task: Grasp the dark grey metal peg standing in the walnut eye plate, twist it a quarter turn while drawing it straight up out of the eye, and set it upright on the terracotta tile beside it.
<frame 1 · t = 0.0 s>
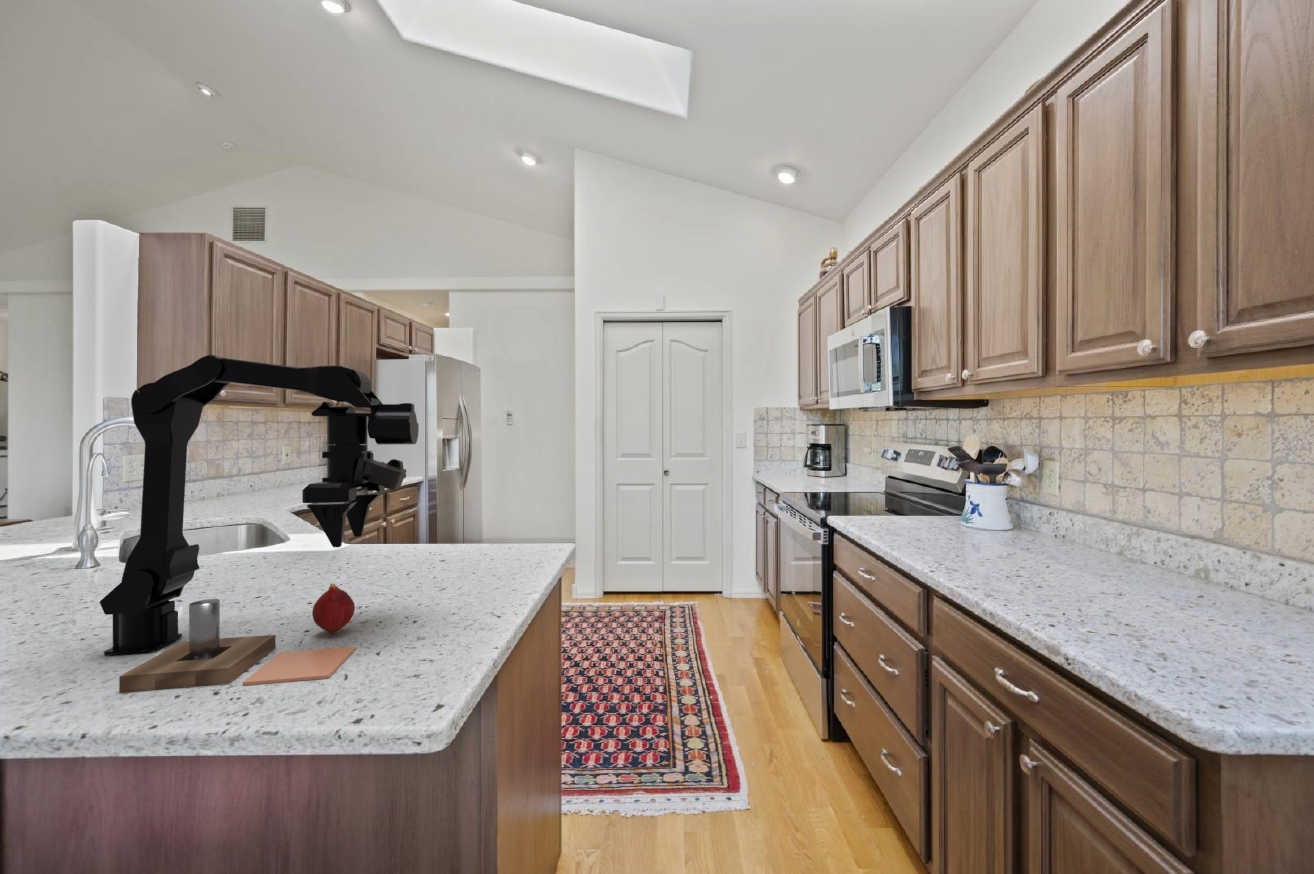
hand: (348, 541, 88), 15 cm above the countertop, fingers open, 9 cm apart
eye plate: (204, 668, 74), on the countertop
peg: (204, 635, 74), in the eye plate
tile: (303, 665, 75), on the countertop
onion: (333, 634, 88), on the countertop
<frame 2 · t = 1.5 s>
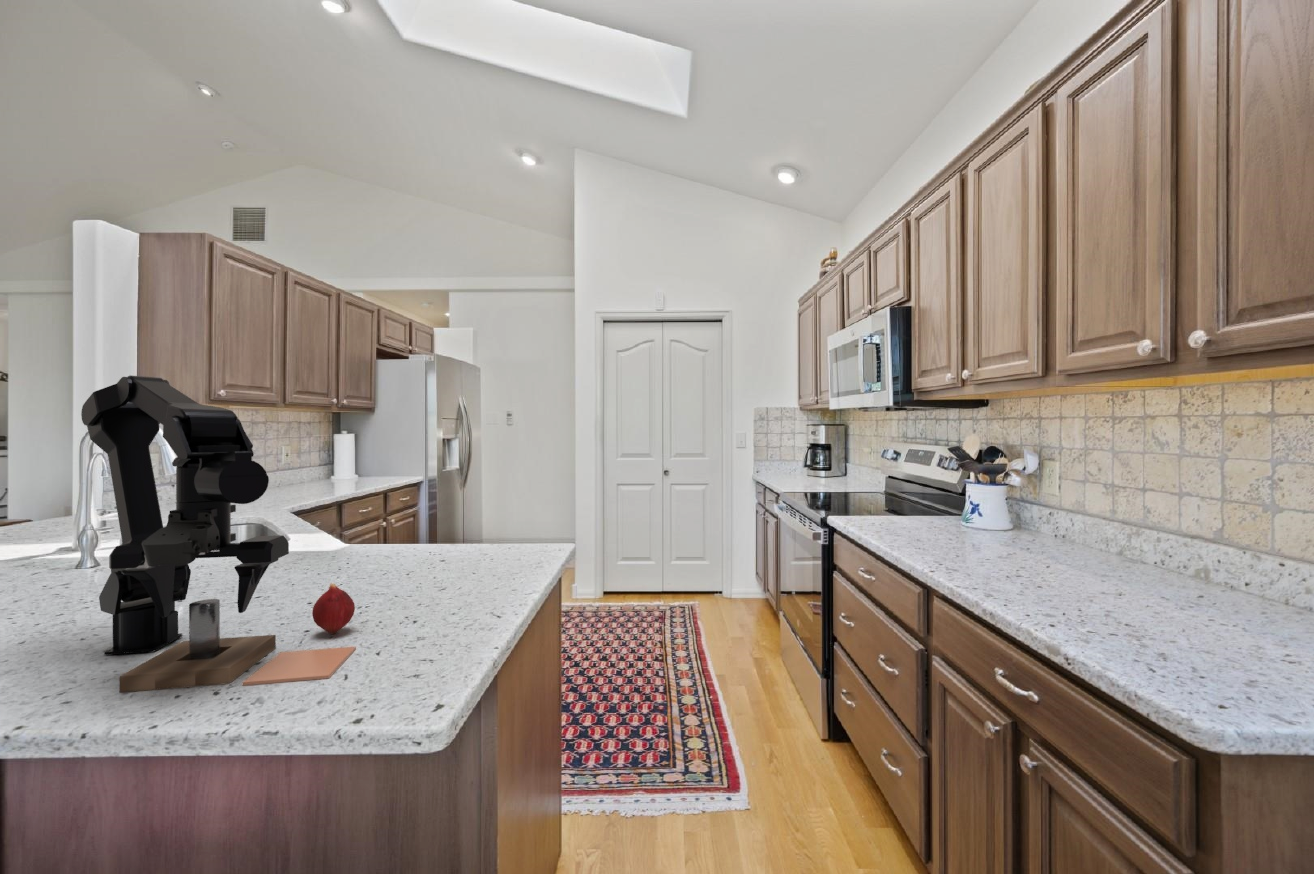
hand: (204, 614, 74), 7 cm above the countertop, fingers open, 9 cm apart
nothing on the countertop moved.
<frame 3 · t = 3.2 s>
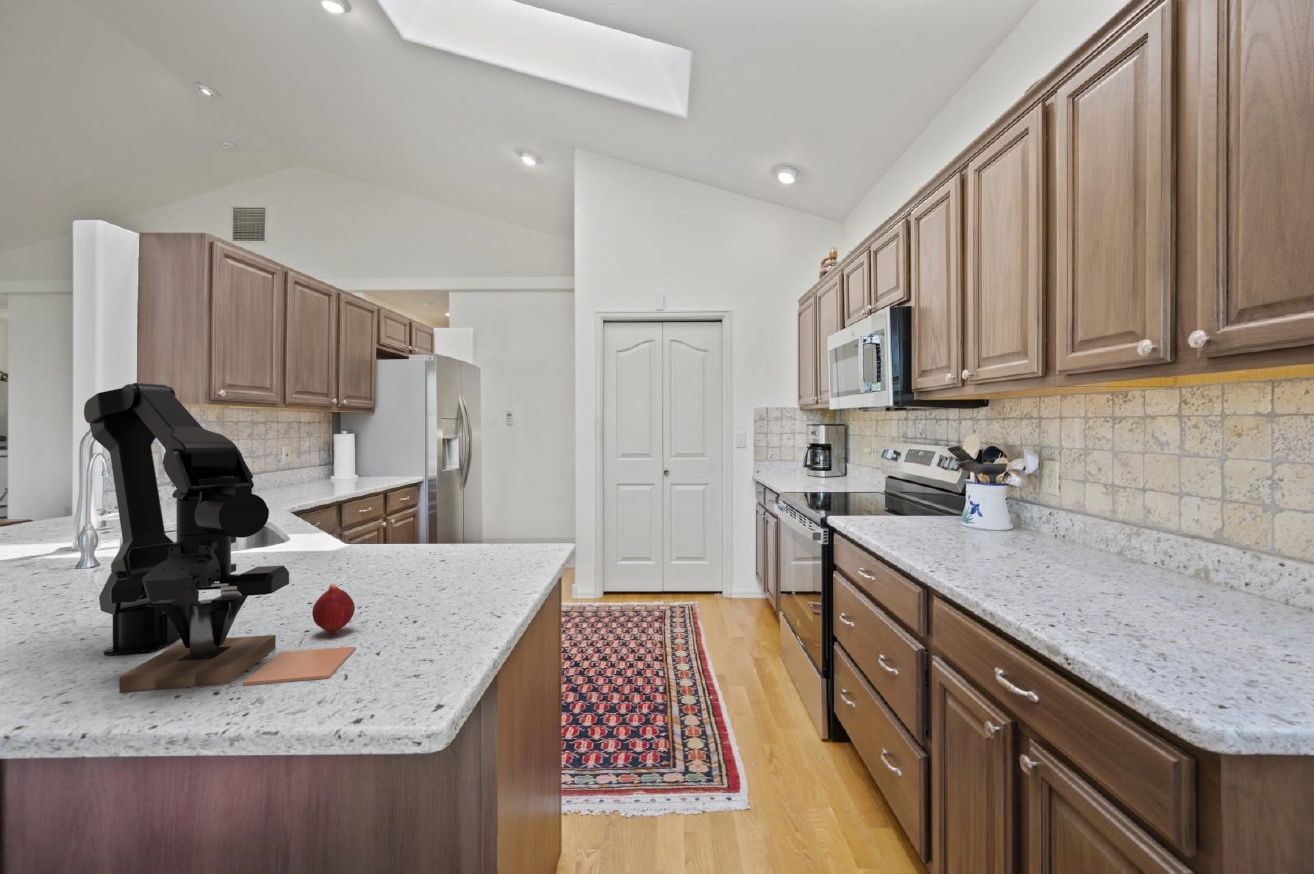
hand: (204, 646, 74), 3 cm above the countertop, fingers closed on peg, 3 cm apart
peg: (204, 635, 74), in the eye plate, touching gripper
everything else where it was.
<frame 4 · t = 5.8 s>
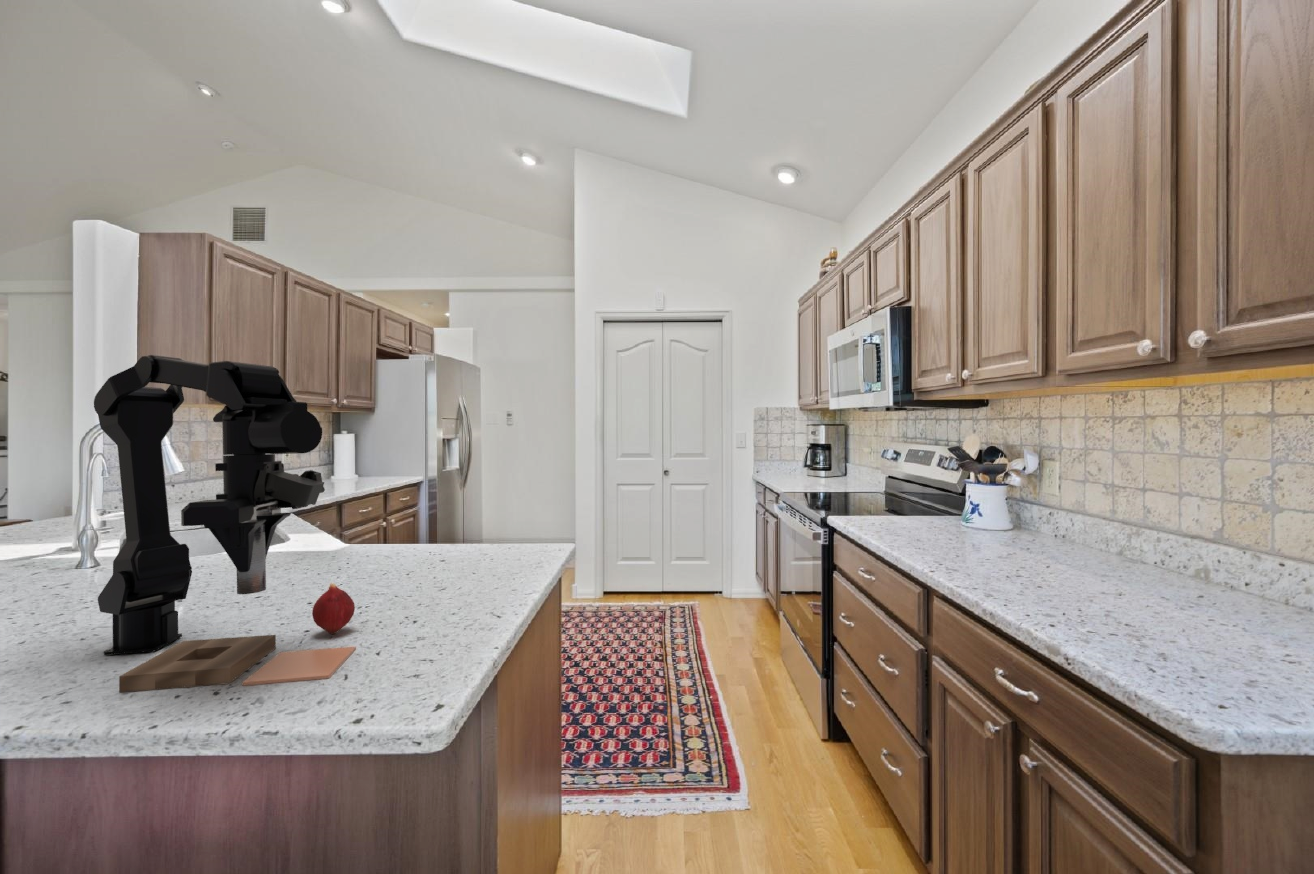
hand: (251, 568, 74), 14 cm above the countertop, fingers closed on peg, 3 cm apart
peg: (251, 558, 74), point 15 cm above the countertop, touching gripper
everything else where it was.
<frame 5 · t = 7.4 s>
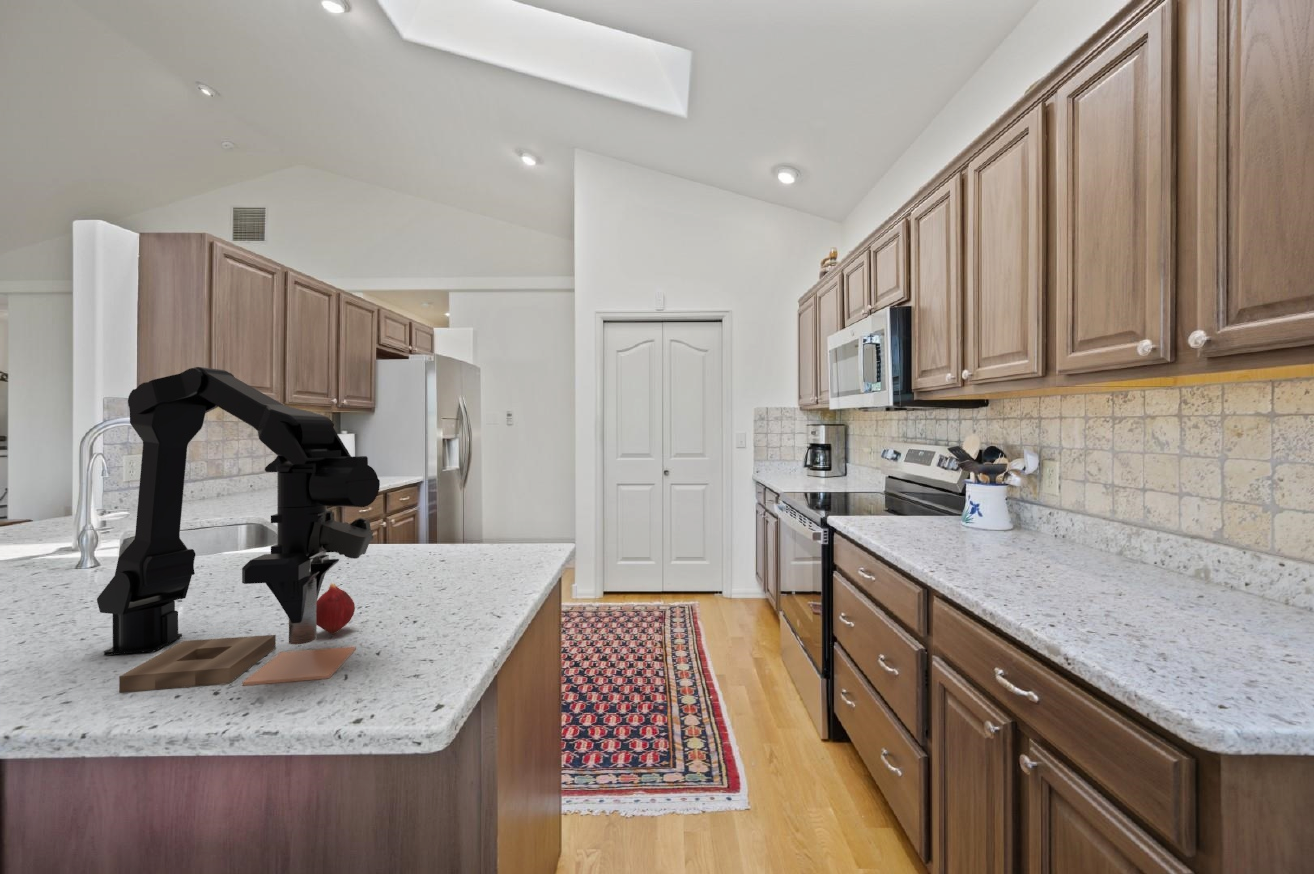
hand: (302, 618, 75), 7 cm above the countertop, fingers closed on peg, 3 cm apart
peg: (302, 607, 75), point 8 cm above the countertop, touching gripper
everything else where it was.
when the fingers open (4 cm above the countertop, at t = 8.5 s): peg stays where it is, resting on tile.
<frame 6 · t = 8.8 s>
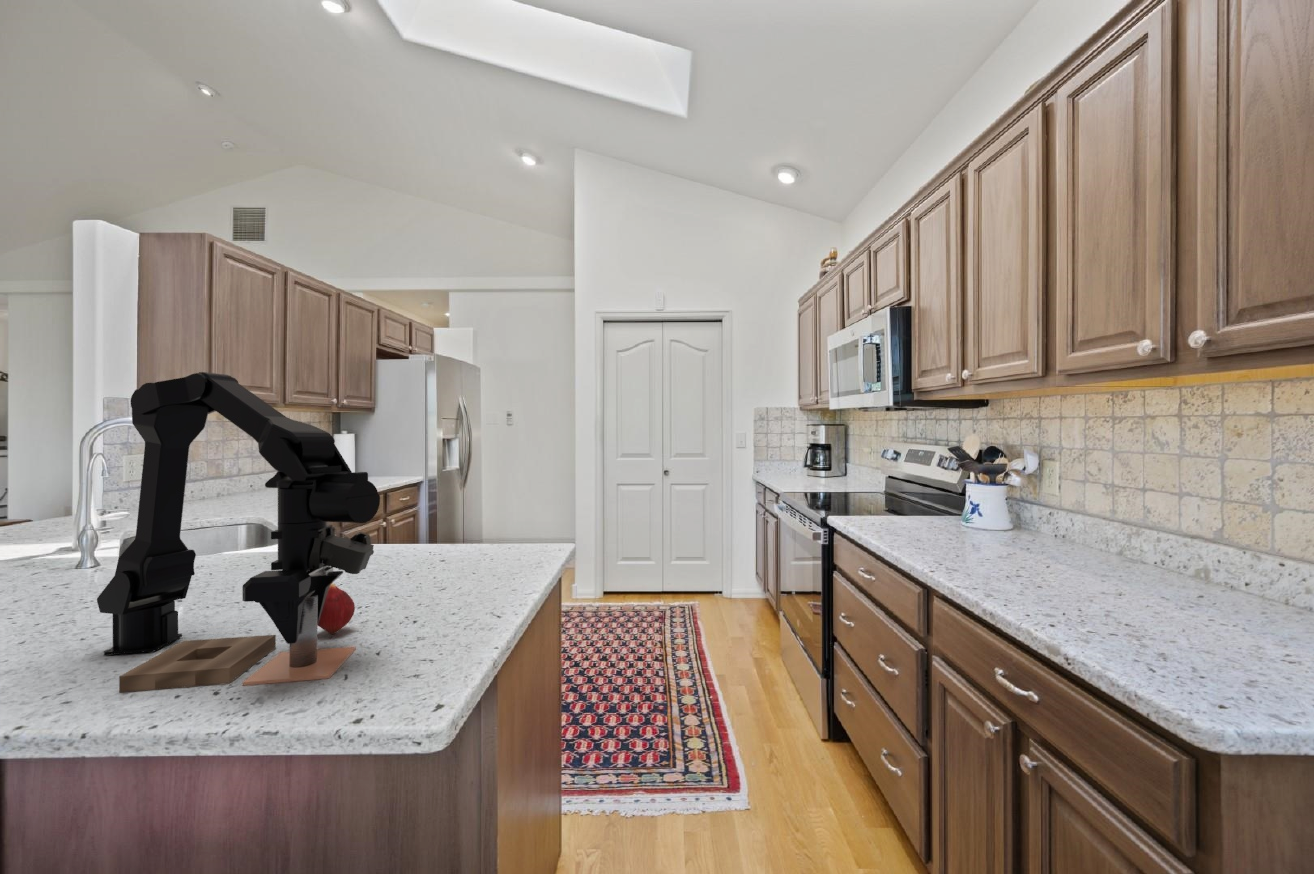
hand: (303, 633, 75), 4 cm above the countertop, fingers open, 6 cm apart
peg: (303, 629, 75), on the tile
everything else where it was.
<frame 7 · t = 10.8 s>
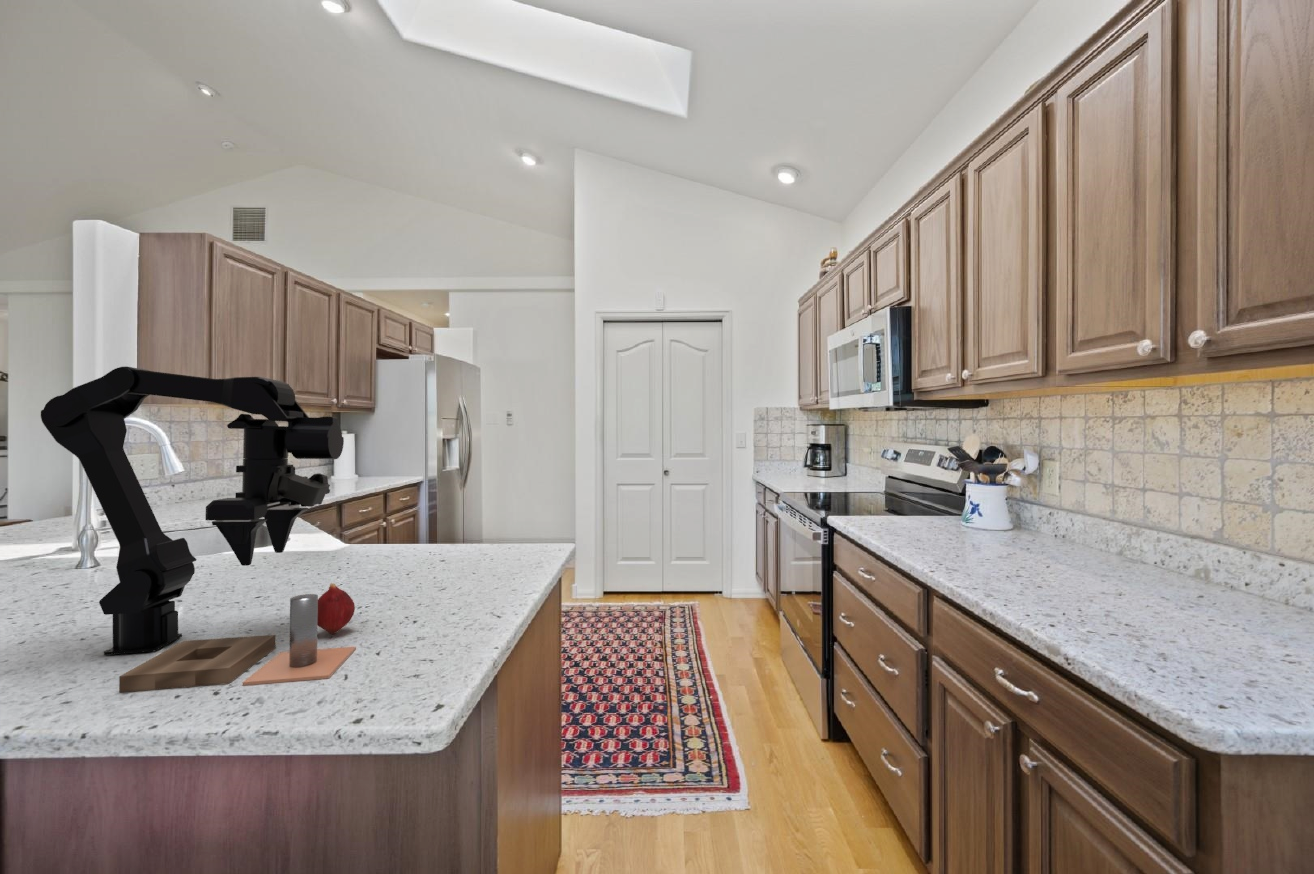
hand: (263, 558, 85), 13 cm above the countertop, fingers open, 9 cm apart
nothing on the countertop moved.
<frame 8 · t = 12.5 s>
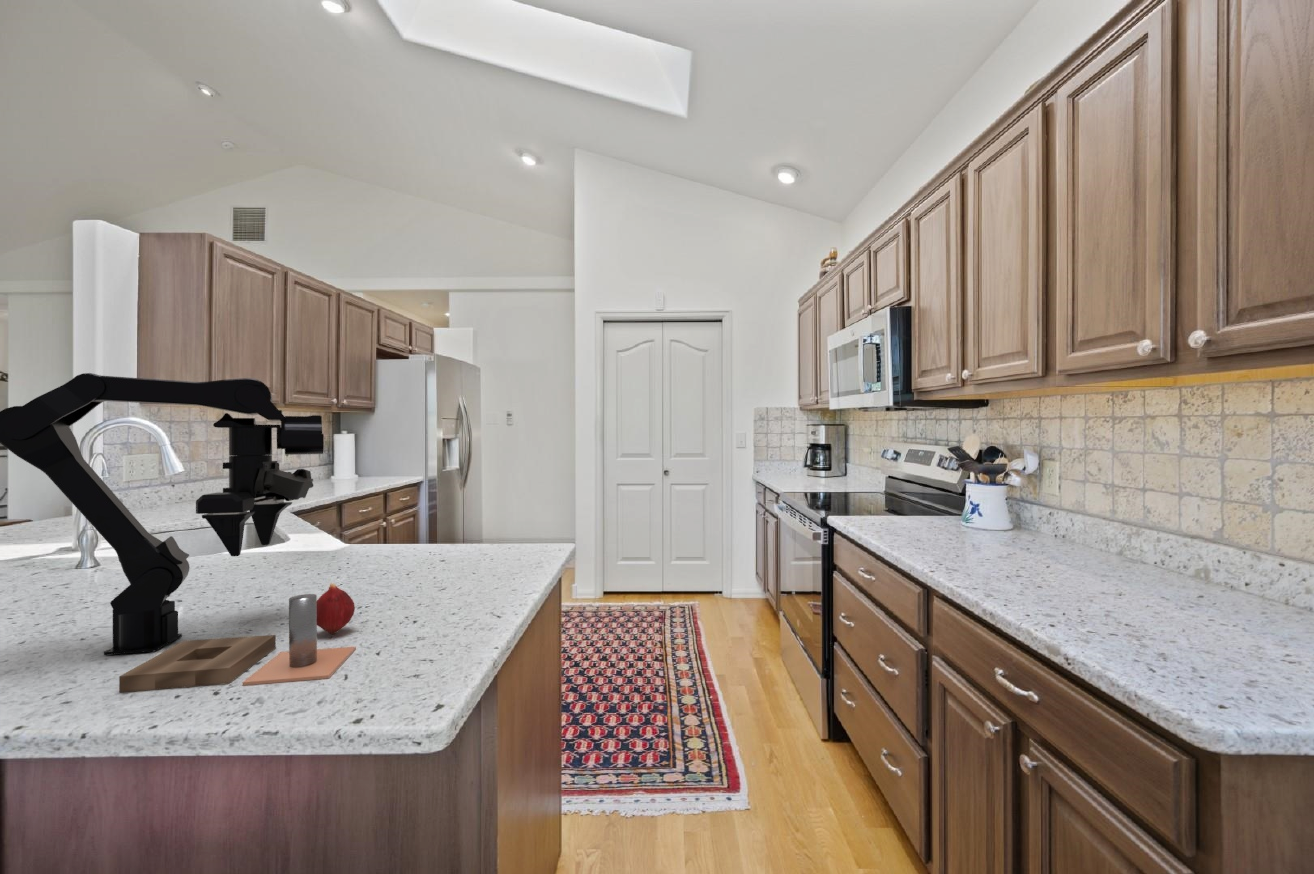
hand: (251, 550, 90), 13 cm above the countertop, fingers open, 9 cm apart
nothing on the countertop moved.
at the end: peg 0.0 cm off-centre on the tile, point 4.9 cm above the tile's base; peg tilted 1°; the gripper is holding nothing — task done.
